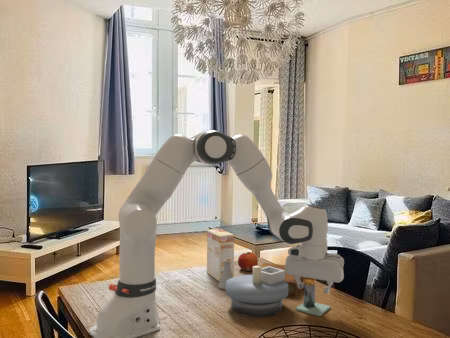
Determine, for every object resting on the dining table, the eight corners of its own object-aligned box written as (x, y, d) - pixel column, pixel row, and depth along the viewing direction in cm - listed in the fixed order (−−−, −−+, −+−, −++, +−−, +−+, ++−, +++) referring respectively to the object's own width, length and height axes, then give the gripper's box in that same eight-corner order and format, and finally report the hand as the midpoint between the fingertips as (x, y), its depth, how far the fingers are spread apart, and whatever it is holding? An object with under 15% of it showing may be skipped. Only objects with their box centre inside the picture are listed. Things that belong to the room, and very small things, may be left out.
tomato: (260, 271, 199) (261, 254, 199) (241, 273, 197) (241, 255, 196) (253, 266, 208) (254, 249, 208) (235, 267, 206) (235, 250, 205)
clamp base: (265, 321, 144) (265, 306, 143) (220, 308, 154) (221, 294, 154) (291, 305, 158) (291, 291, 158) (249, 294, 169) (249, 281, 168)
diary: (296, 297, 168) (296, 282, 167) (249, 291, 174) (249, 277, 174) (306, 279, 189) (306, 266, 189) (264, 275, 196) (264, 262, 195)
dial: (258, 308, 140) (258, 280, 140) (212, 291, 156) (212, 266, 156) (301, 292, 155) (301, 267, 155) (255, 278, 171) (255, 255, 171)
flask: (234, 290, 173) (234, 265, 173) (216, 289, 175) (216, 264, 174) (237, 285, 180) (237, 261, 180) (220, 283, 182) (220, 259, 181)
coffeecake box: (234, 280, 186) (234, 234, 185) (218, 282, 184) (219, 235, 183) (221, 270, 200) (221, 228, 199) (206, 272, 198) (206, 229, 196)
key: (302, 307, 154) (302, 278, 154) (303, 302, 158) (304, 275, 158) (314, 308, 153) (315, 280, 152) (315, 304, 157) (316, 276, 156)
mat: (319, 316, 148) (319, 314, 148) (295, 310, 153) (295, 307, 153) (330, 308, 155) (330, 306, 155) (307, 302, 160) (307, 300, 160)
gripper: (346, 253, 151) (345, 293, 151) (290, 245, 161) (289, 283, 162) (341, 257, 145) (340, 298, 146) (283, 249, 155) (282, 288, 156)
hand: (313, 290), depth 154 cm, fingers open, 8 cm apart
